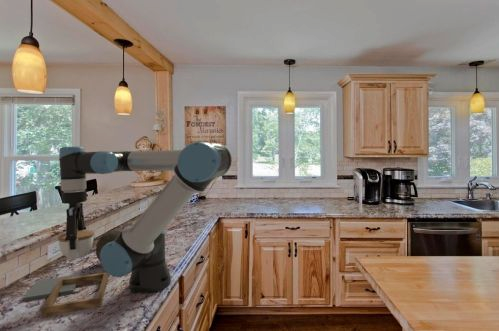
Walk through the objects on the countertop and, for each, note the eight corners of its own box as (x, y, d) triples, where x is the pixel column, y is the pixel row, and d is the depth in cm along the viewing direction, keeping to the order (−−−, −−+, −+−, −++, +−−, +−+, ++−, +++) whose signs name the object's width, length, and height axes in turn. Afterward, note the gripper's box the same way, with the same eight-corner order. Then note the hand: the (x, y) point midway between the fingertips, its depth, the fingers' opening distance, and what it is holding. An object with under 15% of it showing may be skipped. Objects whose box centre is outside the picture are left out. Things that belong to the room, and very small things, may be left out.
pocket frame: (108, 279, 117) (107, 272, 117) (100, 306, 96) (100, 297, 96) (60, 286, 111) (60, 279, 111) (41, 317, 90) (41, 308, 90)
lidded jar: (100, 250, 108) (98, 225, 108) (84, 260, 98) (83, 233, 97) (70, 251, 108) (69, 226, 108) (52, 262, 97) (50, 234, 97)
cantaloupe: (122, 269, 127) (120, 235, 126) (90, 270, 127) (88, 236, 126) (135, 258, 141) (134, 227, 140) (106, 258, 141) (105, 227, 140)
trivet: (81, 276, 120) (81, 274, 120) (73, 293, 106) (73, 289, 106) (37, 283, 115) (37, 280, 115) (23, 301, 101) (23, 297, 101)
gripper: (69, 188, 111) (72, 245, 112) (52, 196, 90) (56, 266, 91) (91, 186, 114) (94, 242, 115) (79, 194, 92) (83, 262, 93)
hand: (77, 253), depth 103 cm, fingers closed on lidded jar, 11 cm apart
